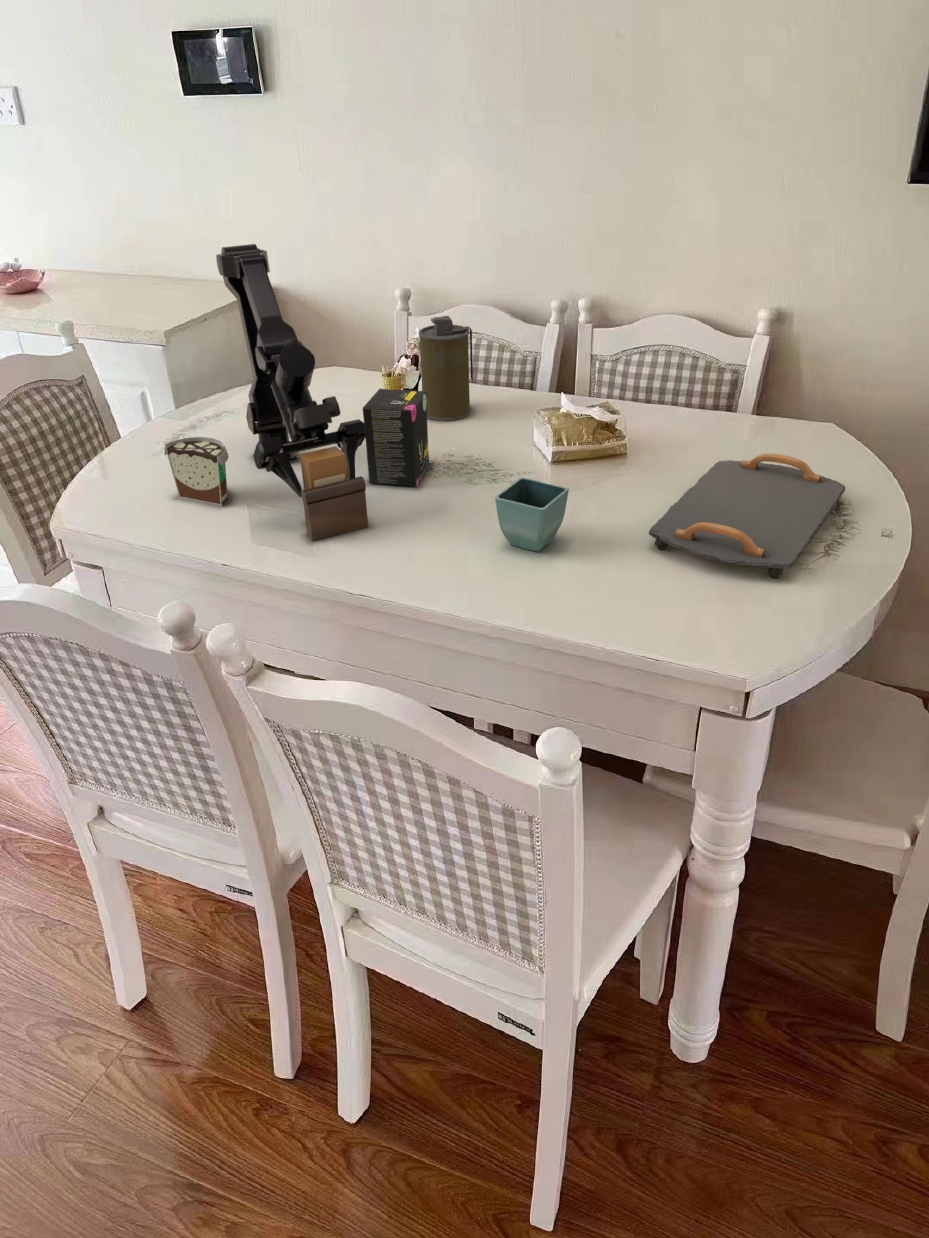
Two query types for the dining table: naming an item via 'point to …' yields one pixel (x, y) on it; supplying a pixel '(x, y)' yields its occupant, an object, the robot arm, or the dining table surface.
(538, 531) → the flower pot
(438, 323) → the canister
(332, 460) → the cardboard box
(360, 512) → the backrest
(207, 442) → the food container
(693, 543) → the serving tray
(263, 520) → the dining table surface
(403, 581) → the dining table surface
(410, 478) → the tampon box
